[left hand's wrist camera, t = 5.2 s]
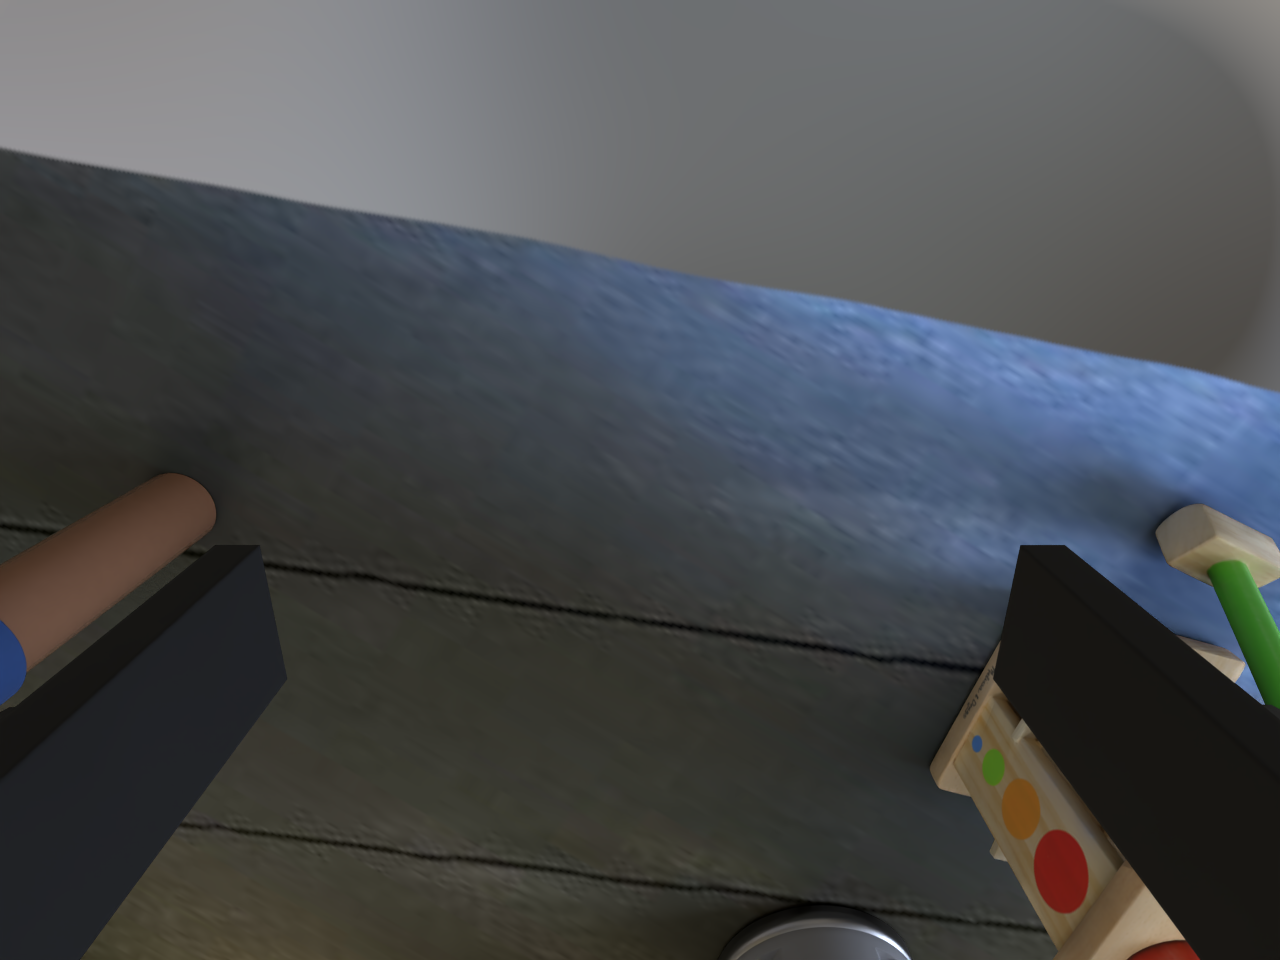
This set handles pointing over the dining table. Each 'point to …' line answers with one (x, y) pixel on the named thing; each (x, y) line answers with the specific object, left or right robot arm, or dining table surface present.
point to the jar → (99, 561)
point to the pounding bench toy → (1048, 804)
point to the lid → (10, 663)
